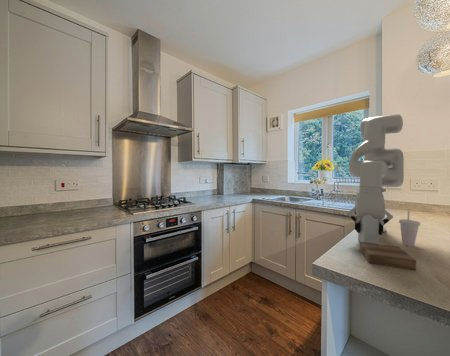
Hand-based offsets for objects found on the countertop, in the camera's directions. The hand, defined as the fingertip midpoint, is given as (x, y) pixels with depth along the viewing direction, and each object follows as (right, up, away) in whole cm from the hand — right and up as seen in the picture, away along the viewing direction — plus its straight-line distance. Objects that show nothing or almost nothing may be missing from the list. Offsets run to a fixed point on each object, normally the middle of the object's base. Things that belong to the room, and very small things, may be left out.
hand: (368, 232), depth 85 cm
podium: (-5, -5, -15) cm, 17 cm away
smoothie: (+15, -5, -2) cm, 16 cm away
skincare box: (0, -4, 0) cm, 4 cm away
